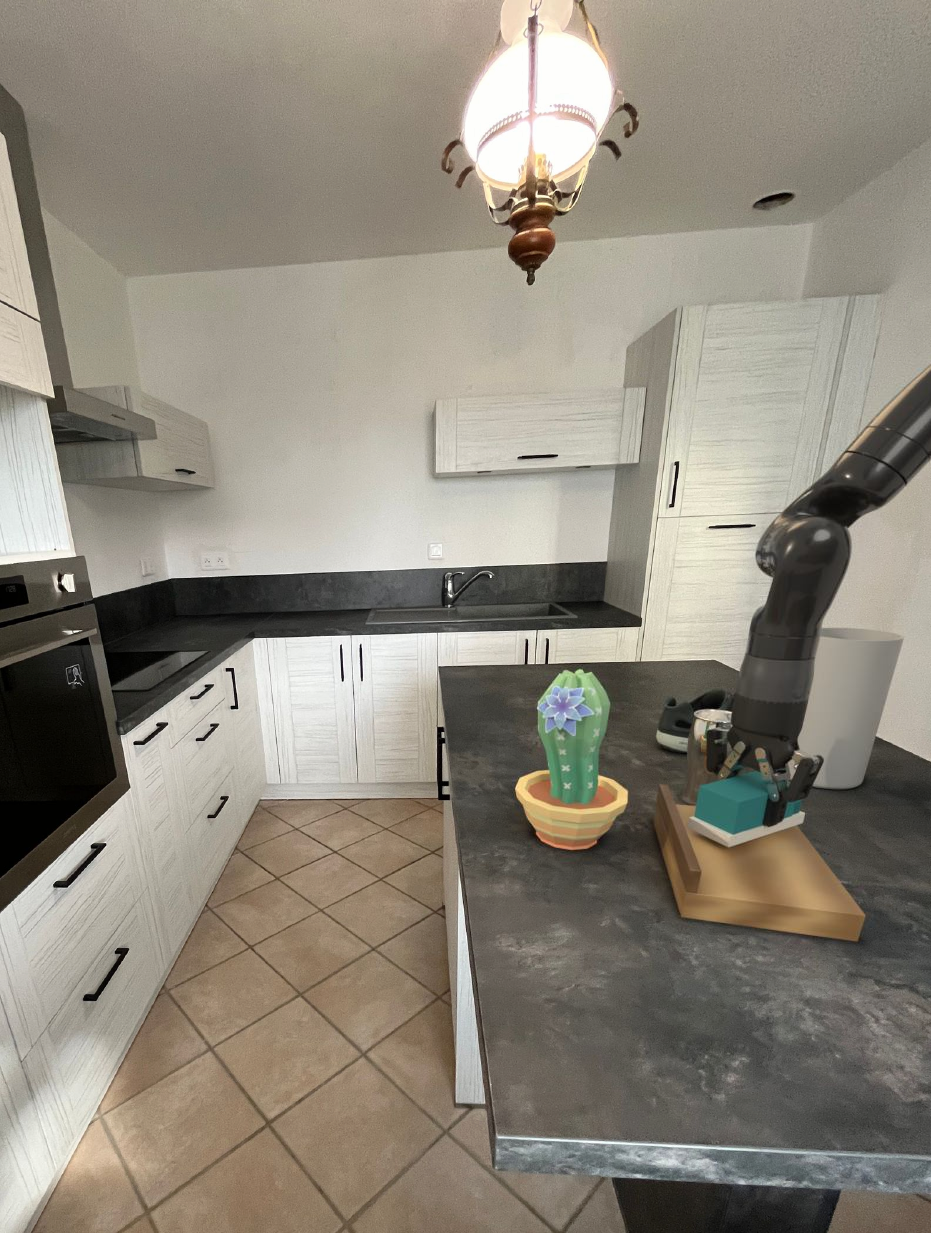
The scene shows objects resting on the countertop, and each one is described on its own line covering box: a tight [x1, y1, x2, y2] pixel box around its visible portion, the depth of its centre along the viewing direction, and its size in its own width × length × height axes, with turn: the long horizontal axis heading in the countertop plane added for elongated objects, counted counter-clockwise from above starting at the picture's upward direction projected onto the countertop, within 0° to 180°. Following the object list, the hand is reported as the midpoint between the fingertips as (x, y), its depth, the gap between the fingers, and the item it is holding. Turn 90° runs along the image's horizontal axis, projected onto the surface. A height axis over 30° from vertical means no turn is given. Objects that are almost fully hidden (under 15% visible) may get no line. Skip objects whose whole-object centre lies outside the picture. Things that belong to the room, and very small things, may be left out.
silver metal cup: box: [681, 709, 733, 806], centre depth 93 cm, size 7×7×15 cm
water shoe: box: [655, 688, 736, 754], centre depth 118 cm, size 10×29×12 cm, turn 104°
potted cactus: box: [514, 668, 629, 851], centre depth 82 cm, size 15×15×25 cm
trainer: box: [688, 770, 806, 847], centre depth 78 cm, size 14×6×6 cm, turn 113°
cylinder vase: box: [776, 627, 905, 790], centre depth 100 cm, size 12×12×25 cm
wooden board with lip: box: [653, 783, 866, 942], centre depth 75 cm, size 17×24×7 cm
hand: (746, 814), depth 78 cm, fingers closed on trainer, 5 cm apart
